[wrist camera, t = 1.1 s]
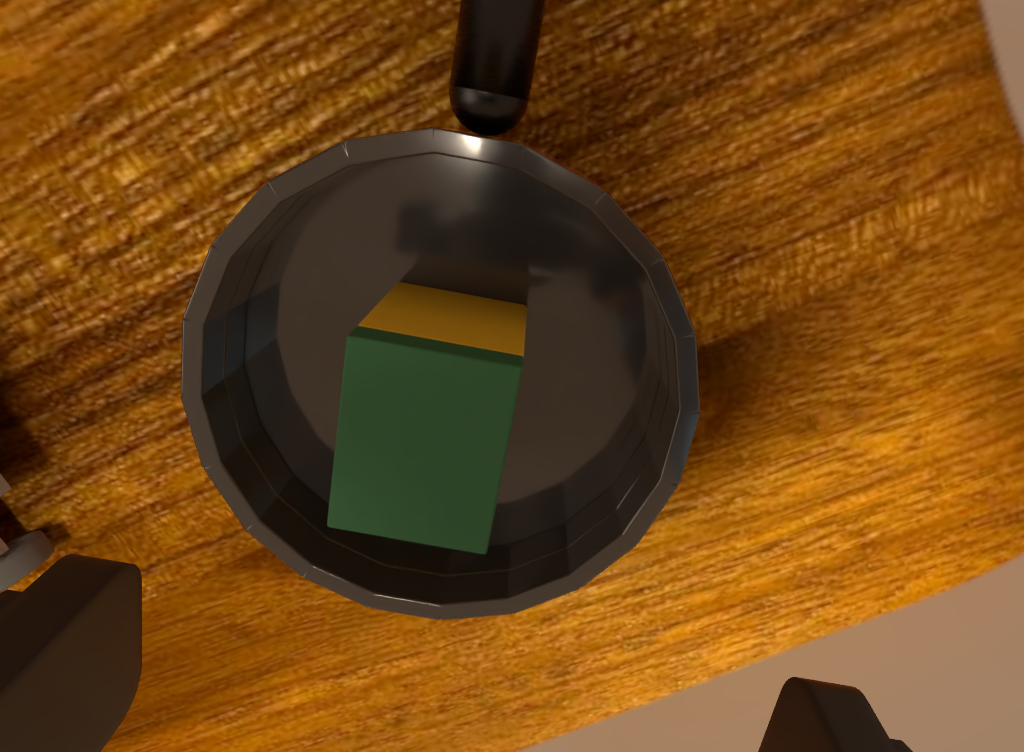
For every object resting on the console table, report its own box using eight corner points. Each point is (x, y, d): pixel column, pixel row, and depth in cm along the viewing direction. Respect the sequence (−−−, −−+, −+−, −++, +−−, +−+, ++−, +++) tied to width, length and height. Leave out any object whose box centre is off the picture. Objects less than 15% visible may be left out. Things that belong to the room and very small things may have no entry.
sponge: (397, 280, 21) (346, 335, 16) (527, 304, 21) (523, 367, 16) (378, 430, 23) (325, 527, 17) (499, 451, 23) (486, 555, 17)
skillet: (244, 88, 20) (187, 80, 17) (729, 180, 20) (765, 190, 17) (223, 516, 25) (175, 575, 22) (618, 585, 25) (630, 654, 22)
